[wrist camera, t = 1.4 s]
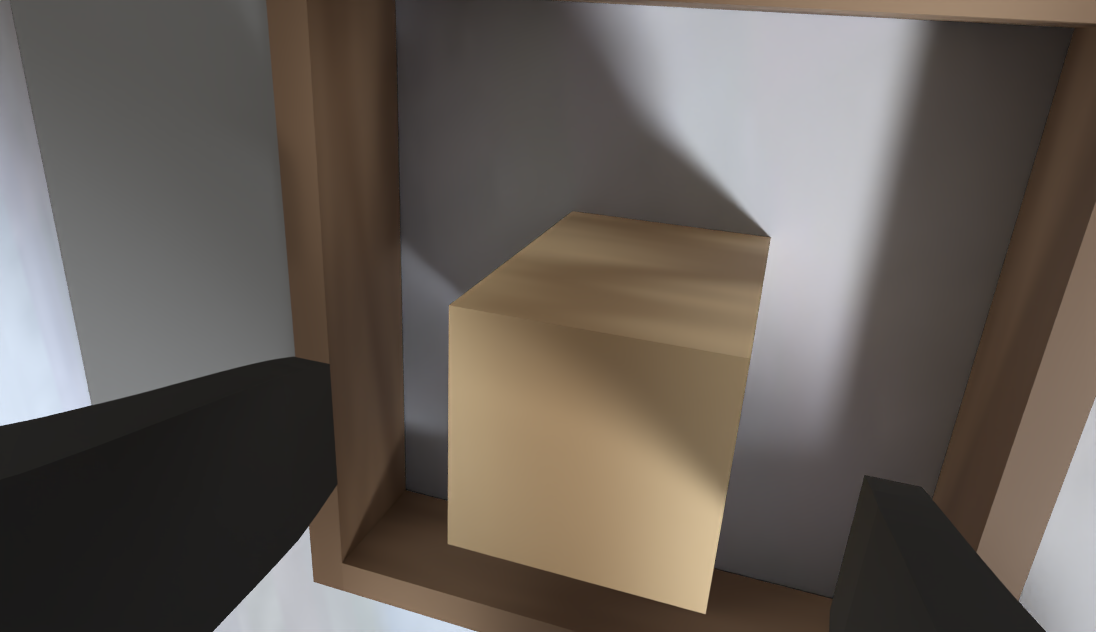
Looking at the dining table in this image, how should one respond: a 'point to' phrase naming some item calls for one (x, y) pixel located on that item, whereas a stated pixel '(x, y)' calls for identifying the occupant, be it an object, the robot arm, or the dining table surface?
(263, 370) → the robot arm
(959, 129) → the dining table surface
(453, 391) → the oak block
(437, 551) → the frame box
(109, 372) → the mat
